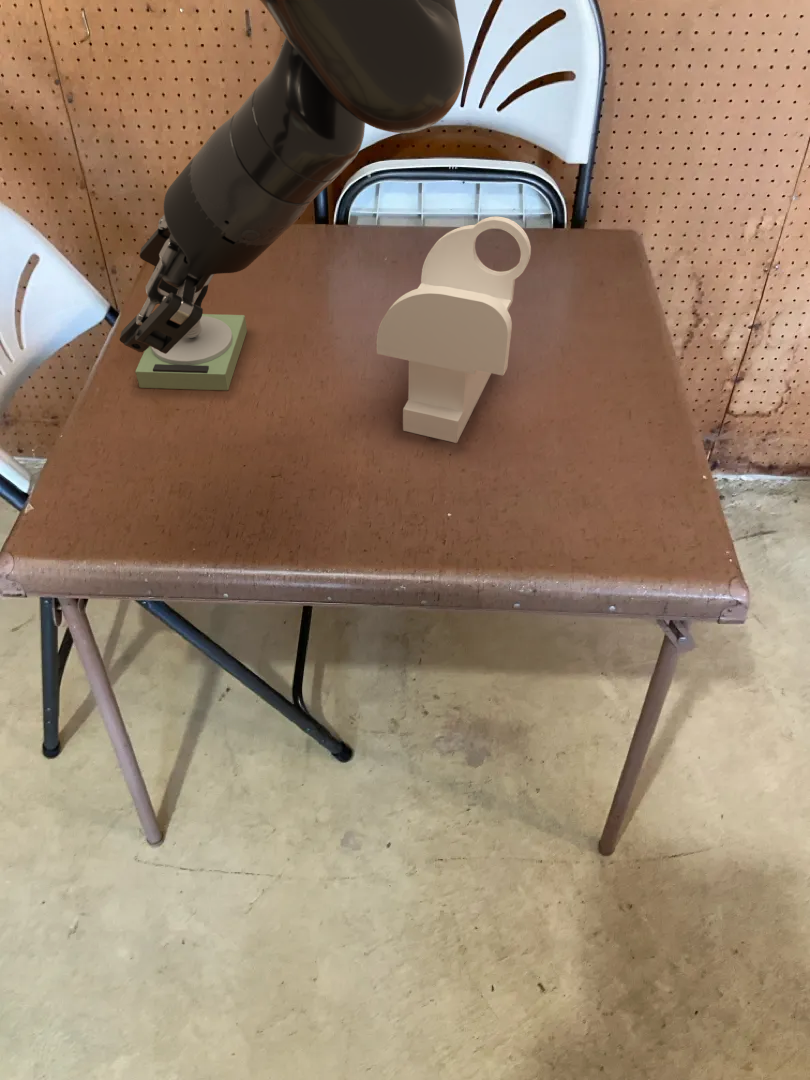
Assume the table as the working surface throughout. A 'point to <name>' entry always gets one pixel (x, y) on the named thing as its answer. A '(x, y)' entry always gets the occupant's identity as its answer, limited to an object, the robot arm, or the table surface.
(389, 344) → the tape dispenser
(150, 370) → the scale
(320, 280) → the table surface
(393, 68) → the robot arm
